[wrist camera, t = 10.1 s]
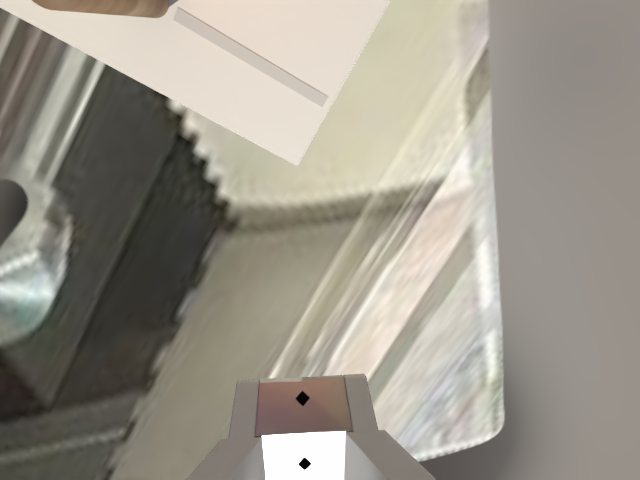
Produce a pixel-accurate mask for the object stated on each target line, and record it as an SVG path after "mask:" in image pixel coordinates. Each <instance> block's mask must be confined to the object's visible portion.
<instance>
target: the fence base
mask: <svg viewBox="0 0 640 480" xmlns="http://www.w3.org/2000/svg"><path fill="white" fill-rule="evenodd" d="M32 1H33V2H35V3H36V4H37V5H39V6H41V7H43V8H45V9H48V10H56V11H69V12H82V13H95V14H108V15H121V16H134V17H147V18H160V17H162V16H164V15H165V14H166V12H167V11H168V8H169V0H32Z"/></svg>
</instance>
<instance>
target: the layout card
mask: <svg viewBox="0 0 640 480" xmlns="http://www.w3.org/2000/svg"><path fill="white" fill-rule="evenodd" d="M390 1H391V0H169V8H168V11H167V12H166V14H165V15H164V16H162V17H160V18H147V17H134V16H121V15H108V14H95V13H82V12H69V11H56V10H48V9H45V8H43V7H41V6H39V5H37V4H36V3H35V2H33V1H32V0H0V8H2V9H4V10H6V11H8V12H10V13H11V14H13V15H15V16H17V17H19V18H21V19H23V20H25V21H26V22H28V23H30V24H32V25H34V26H36V27H38V28H40V29H41V30H43V31H45V32H47V33H49V34H51V35H53V36H55V37H56V38H58V39H60V40H62V41H64V42H66V43H68V44H70V45H71V46H73V47H75V48H77V49H79V50H81V51H83V52H84V53H86V54H88V55H90V56H92V57H94V58H96V59H98V60H99V61H101V62H103V63H105V64H107V65H109V66H111V67H113V68H114V69H116V70H118V71H120V72H122V73H124V74H126V75H128V76H129V77H131V78H133V79H135V80H137V81H139V82H141V83H143V84H144V85H146V86H148V87H150V88H152V89H154V90H156V91H157V92H159V93H161V94H163V95H165V96H167V97H169V98H171V99H172V100H174V101H176V102H178V103H180V104H182V105H184V106H186V107H187V108H189V109H191V110H193V111H195V112H197V113H199V114H201V115H202V116H204V117H206V118H208V119H210V120H212V121H214V122H216V123H217V124H219V125H221V126H223V127H225V128H227V129H229V130H230V131H232V132H234V133H236V134H238V135H240V136H242V137H244V138H245V139H247V140H249V141H251V142H253V143H255V144H257V145H259V146H260V147H262V148H264V149H266V150H268V151H270V152H272V153H274V154H275V155H277V156H279V157H281V158H283V159H285V160H287V161H289V162H290V163H292V164H294V165H296V166H298V164H299V162H300V161H301V159H302V157H303V155H304V154H305V152H306V150H307V148H308V146H309V145H310V143H311V141H312V139H313V138H314V136H315V134H316V132H317V131H318V129H319V127H320V125H321V123H322V122H323V120H324V118H325V116H326V115H327V113H328V111H329V109H330V107H331V106H332V104H333V102H334V100H335V99H336V97H337V95H338V93H339V91H340V90H341V88H342V86H343V84H344V83H345V81H346V79H347V77H348V75H349V74H350V72H351V70H352V68H353V67H354V65H355V63H356V61H357V59H358V58H359V56H360V54H361V52H362V51H363V49H364V47H365V45H366V44H367V42H368V40H369V38H370V36H371V35H372V33H373V31H374V29H375V28H376V26H377V24H378V22H379V20H380V19H381V17H382V15H383V13H384V12H385V10H386V8H387V6H388V4H389V3H390Z"/></svg>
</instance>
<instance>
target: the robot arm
mask: <svg viewBox="0 0 640 480" xmlns="http://www.w3.org/2000/svg"><path fill="white" fill-rule="evenodd" d="M186 480H436V479H435V478H434V477H433V476H432V475H431V474H430V473H429V472H428V471H427V470H426V469H425V468H424V467H422V466H421V465H420V464H419V463H418V462H417V461H416V460H415V459H414V458H413V457H412V456H411V455H410V454H409V453H408V452H407V451H406V450H405V449H404V448H403V447H402V446H401V445H400V444H399V443H398V442H397V441H396V440H394V439H393V438H392V437H391V436H390V435H389V434H388V433H387V432H386V431H385V430H378V427H377V422H376V418H375V414H374V409H373V405H372V400H371V396H370V392H369V387H368V383H367V378H366V376H365V375H364V374H351V375H337V376H320V377H302V378H273V379H253V380H238V382H237V384H236V390H235V397H234V403H233V410H232V417H231V424H230V431H229V437H228V439H222V440H221V441H220V442H219V443H218V444H217V445H216V446H215V447H214V449H213V450H212V451H211V452H210V453H209V454H208V455H207V457H206V458H205V459H204V460H203V461H202V462H201V463H200V465H199V466H198V467H197V468H196V469H195V470H194V471H193V472H192V474H191V475H190V476H189V477H188V478H187V479H186Z"/></svg>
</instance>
